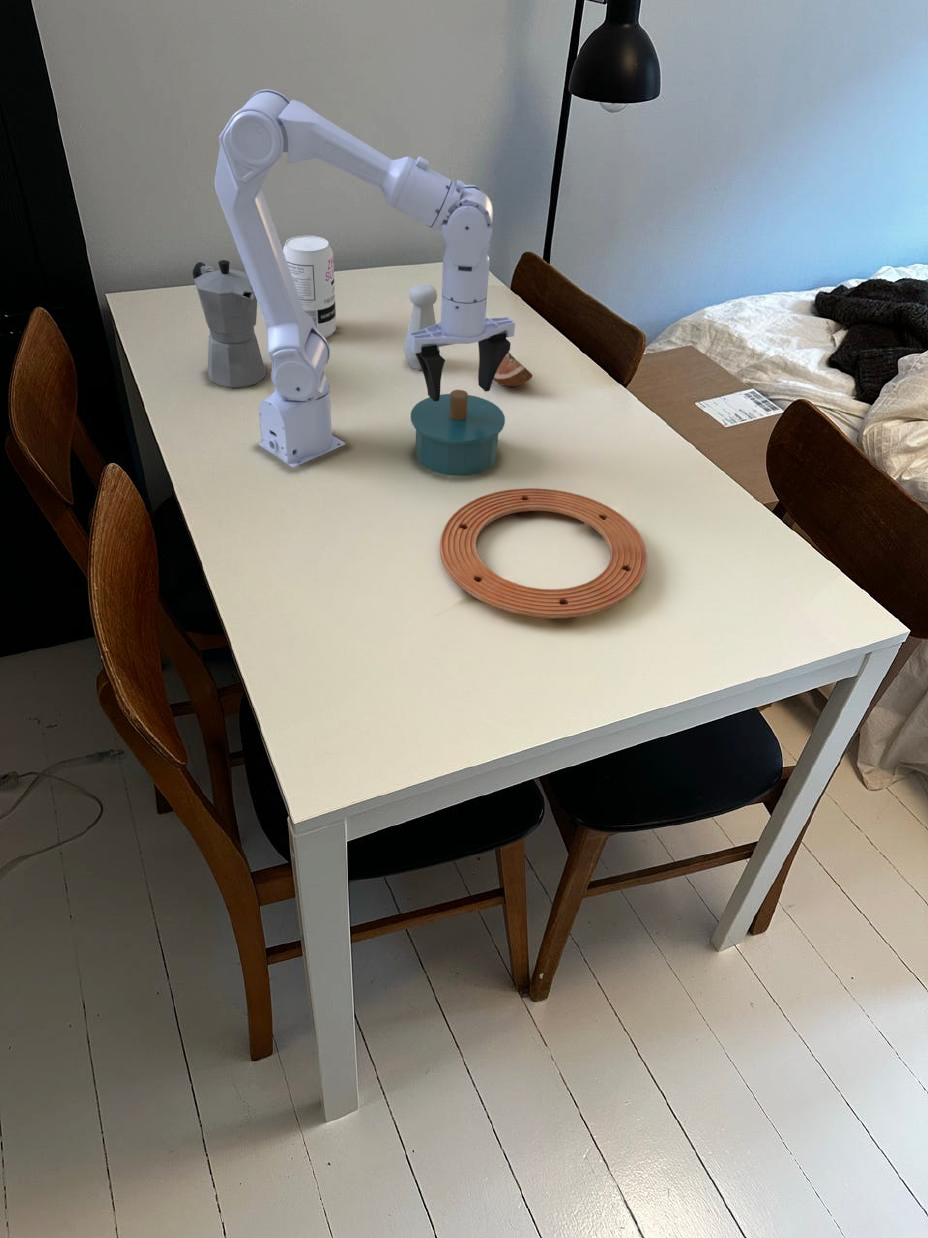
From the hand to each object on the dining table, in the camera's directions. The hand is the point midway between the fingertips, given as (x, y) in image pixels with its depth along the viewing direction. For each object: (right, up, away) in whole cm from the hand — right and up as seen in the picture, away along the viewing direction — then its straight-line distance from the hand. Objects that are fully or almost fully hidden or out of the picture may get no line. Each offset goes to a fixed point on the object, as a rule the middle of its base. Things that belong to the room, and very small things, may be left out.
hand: (459, 392), depth 126 cm
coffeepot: (-36, +8, +22) cm, 43 cm away
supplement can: (-26, +19, +35) cm, 47 cm away
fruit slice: (+8, +7, +24) cm, 26 cm away
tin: (-1, -8, +6) cm, 10 cm away
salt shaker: (-6, +11, +28) cm, 31 cm away
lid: (0, -3, +3) cm, 4 cm away
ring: (+10, -23, -10) cm, 28 cm away
